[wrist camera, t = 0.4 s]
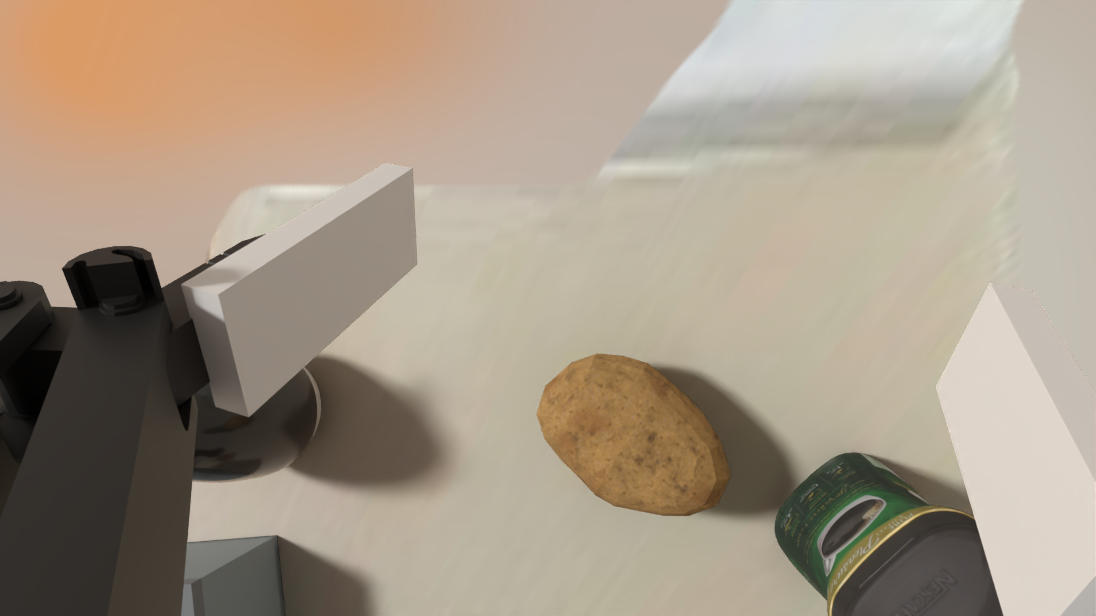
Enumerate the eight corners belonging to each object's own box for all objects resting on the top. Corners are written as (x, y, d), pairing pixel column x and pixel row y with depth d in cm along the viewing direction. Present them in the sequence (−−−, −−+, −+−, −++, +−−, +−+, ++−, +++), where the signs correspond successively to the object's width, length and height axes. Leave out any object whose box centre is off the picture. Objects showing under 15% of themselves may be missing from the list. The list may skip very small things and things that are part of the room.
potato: (681, 532, 48) (686, 573, 40) (526, 429, 50) (502, 449, 42) (751, 423, 47) (770, 444, 39) (591, 324, 49) (579, 324, 42)
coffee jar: (837, 603, 46) (957, 789, 28) (754, 523, 47) (818, 651, 29) (936, 511, 45) (1129, 640, 27) (850, 431, 46) (978, 503, 28)
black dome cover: (344, 345, 53) (221, 354, 38) (336, 470, 53) (209, 529, 38) (234, 336, 54) (74, 341, 39) (225, 457, 54) (62, 509, 39)
